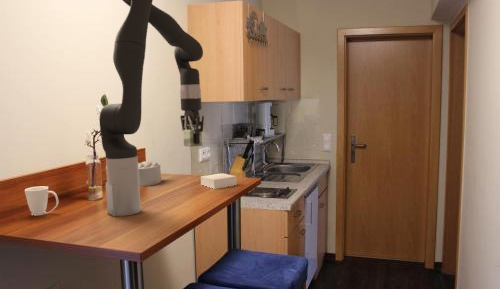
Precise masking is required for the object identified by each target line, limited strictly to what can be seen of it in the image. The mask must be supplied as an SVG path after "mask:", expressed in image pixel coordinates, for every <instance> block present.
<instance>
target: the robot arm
mask: <svg viewBox="0 0 500 289" xmlns="http://www.w3.org/2000/svg"><path fill="white" fill-rule="evenodd" d="M122 1H123V3H124V4H126V5H127V6H128V7H129V11H128V14H127V15H126V17H125V19H124V21H123V23H122V24H121V26H120V27H119V29H118V32H117V33H116V35H115V39H114V45H113V46H114V47H113V56H112V62H113V64H114V67H115V70H116V72H117V74H118V77H119V79H120V81H121V85H122V99H121V103H109V104H106V105H104V106H103V107H102V109H101V110H100V112H99V129H100V138H101V139H100V140H101V146H102V149H103V151H104V153H105V154H104V155H105V168H106V167H107V175H106V182H105V183H104V184H105V195H106V196H105V198H106V212H107V214H109V215H111V216H113V217H124V216H132V215H136V214H139V213H140V212H141V211H142V209H141V192H140V186H139V173H138V163H139V160H138V158H139V156H138V149H137V147H136V146H135V145H134V144H131V143H130V142H129V141H127V139H126V138H125V135H134V134H136V133H137V132H138V130H139V129H140V126H141V123H142V122H141V121H142V96H143V95H142V91H143V90H142V87H143V72H144V64H145V58H146V48H147V34H148V27H149V24H150V25H151V26H152V27H153V28H154V29H155V30H156V31H157V32H158V33H159V34H160V35H161V37H162V38H163V39H164V40H165V41H166V42H167V44H168V45H169V46H171V47H174V52H173V54H174V60H175V63H176V66H177V69H178V73H179V81H180V82H179V83H180V90H179V93H180V94H179V97H180V98H179V99H180V110H181V111H183V112H184V113H183V114H184V115H180V123H181V129H182V131H183V130H188V129H192V130H193V133H194V134H193V140H194V144H199V143H200V137H199V133H200V132H202V133H203V132H204V120H205V119H204V118H205V116H204V115H200V112H199V111H201V110H202V108H203V107H202V92H201V91H202V90H201V85H200V82H201V81H200V71H199V70H198V69H197V68H195V67H192V66H191V65H190V63H191V62H192V63H193V62H197V61H200V60H201V59H202V58H203V56H204V50H203V46H202V44H201V43H200V42H199V41H198V40H197V39H196V38H194V37H193V36H191V35H190V34H189V33H188V32H186V31H185V30H184V29H183V28H182V27H181V26H180V24H179V23H178V22H177V21H176V19H175V18H174V17H173V16H171V14H169V13H167V11H164V10H162V9H160V8H159V7H157V6H156V5H154V4H153V1H154V0H122ZM107 181H108V182H107Z"/></svg>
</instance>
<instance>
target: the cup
mask: <svg viewBox="0 0 500 289" xmlns="http://www.w3.org/2000/svg"><path fill="white" fill-rule="evenodd" d="M24 194H25V198H26V201H27V206H28V209H29V211H30V212H31V214H30V215H31V216H33V215H34V216H35V217H36V216H42V215H48V214H49V213H51V212H53V211H54V210H55V209H56V208H57V207H58V205H59V197H58V195H57V193H56V192H55V191H54V190H49V186H44V185H43V186H31V187H28V188H27V187H26V188H25V189H24ZM49 194H52V195H53V196H54V197H55V201H56V203H55V206H54V207H53V208H51V210H49V211H48V212H47V211H46V210H47V207H48V206H47V205H48V200H49V199H48V198H49Z"/></svg>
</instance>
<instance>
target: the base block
mask: <svg viewBox="0 0 500 289" xmlns="http://www.w3.org/2000/svg"><path fill="white" fill-rule="evenodd" d="M202 185H204V186H203V187H205V186H207V187H206V188H209V187H210V188H209V189H212V188H213V189H212V190H218V189H223V188H228V186H229V187H233V186H234V185H235V186H237V176H236V175H233V174H227V173H222V172H221V173H216V174H210V175H208V174H207V175H202V176H200V186H202ZM235 186H234V187H235Z"/></svg>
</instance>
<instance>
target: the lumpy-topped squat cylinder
mask: <svg viewBox="0 0 500 289" xmlns="http://www.w3.org/2000/svg"><path fill="white" fill-rule="evenodd" d="M138 173H139V187H148V186H154V185H157V184H160V183H161V182H162V174H161V173H162V171H161V164H160V163H158V162H156V161H154V160H151V161H145V160H144V161H142V162H138Z"/></svg>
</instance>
